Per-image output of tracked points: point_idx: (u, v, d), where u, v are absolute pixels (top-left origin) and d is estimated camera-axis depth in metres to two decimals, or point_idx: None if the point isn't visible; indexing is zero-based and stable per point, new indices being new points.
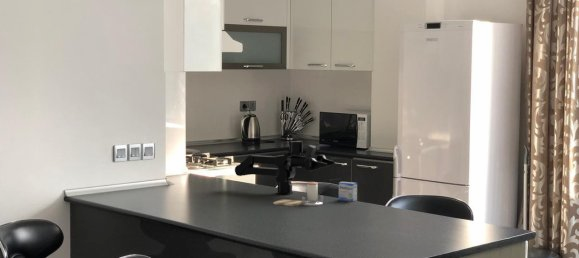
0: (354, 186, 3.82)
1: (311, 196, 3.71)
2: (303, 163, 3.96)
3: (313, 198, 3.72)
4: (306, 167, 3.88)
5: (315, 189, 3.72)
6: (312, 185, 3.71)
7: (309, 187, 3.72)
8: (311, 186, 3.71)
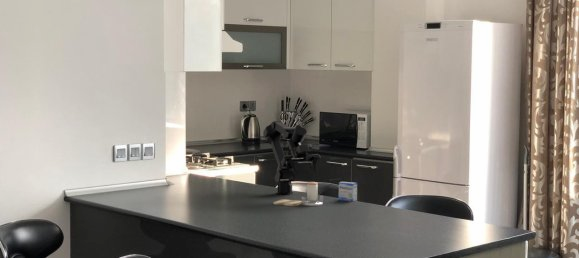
0: (354, 186, 3.82)
1: (311, 196, 3.71)
2: (292, 153, 3.87)
3: (313, 198, 3.72)
4: (281, 162, 3.82)
5: (315, 189, 3.72)
6: (312, 185, 3.71)
7: (309, 187, 3.72)
8: (311, 186, 3.71)
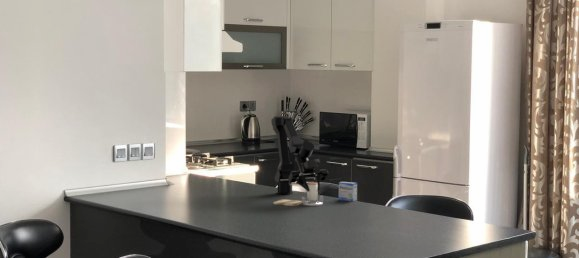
0: (354, 186, 3.82)
1: (311, 196, 3.71)
2: (299, 168, 3.79)
3: (313, 198, 3.72)
4: (289, 178, 3.75)
5: (315, 189, 3.72)
6: (312, 185, 3.71)
7: (309, 187, 3.72)
8: (311, 186, 3.71)
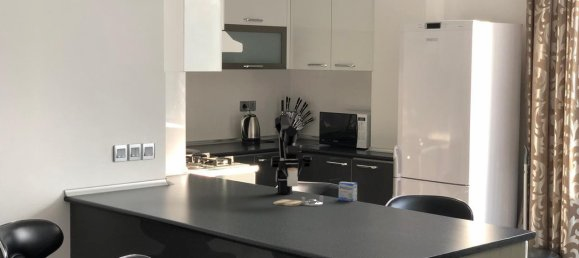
0: (354, 186, 3.82)
1: (290, 182, 3.71)
2: (284, 153, 3.80)
3: (292, 183, 3.71)
4: (271, 163, 3.77)
5: (294, 175, 3.70)
6: (291, 171, 3.70)
7: (288, 172, 3.71)
8: (290, 172, 3.70)
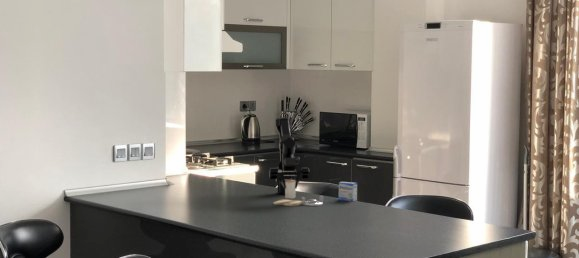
0: (354, 186, 3.82)
1: (288, 193, 3.71)
2: None
3: (289, 195, 3.71)
4: (269, 174, 3.78)
5: (291, 187, 3.71)
6: (288, 183, 3.71)
7: (286, 184, 3.72)
8: (287, 183, 3.71)
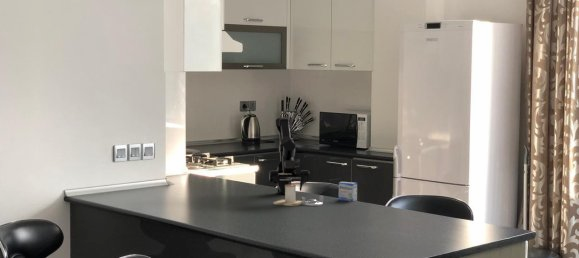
0: (354, 186, 3.82)
1: (288, 198, 3.71)
2: None
3: (289, 200, 3.71)
4: (269, 177, 3.78)
5: (291, 191, 3.71)
6: (288, 187, 3.71)
7: (286, 189, 3.72)
8: (287, 188, 3.71)
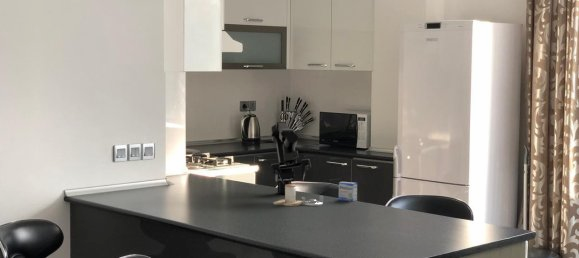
0: (354, 186, 3.82)
1: (288, 198, 3.71)
2: None
3: (289, 200, 3.71)
4: None
5: (291, 191, 3.71)
6: (288, 187, 3.71)
7: (286, 189, 3.72)
8: (287, 188, 3.71)
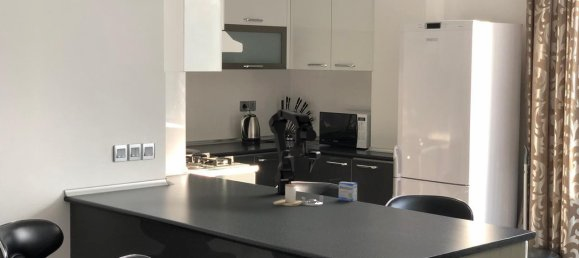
0: (354, 186, 3.82)
1: (288, 198, 3.71)
2: None
3: (290, 199, 3.71)
4: None
5: (292, 191, 3.71)
6: (289, 187, 3.71)
7: (286, 189, 3.72)
8: (288, 188, 3.71)
